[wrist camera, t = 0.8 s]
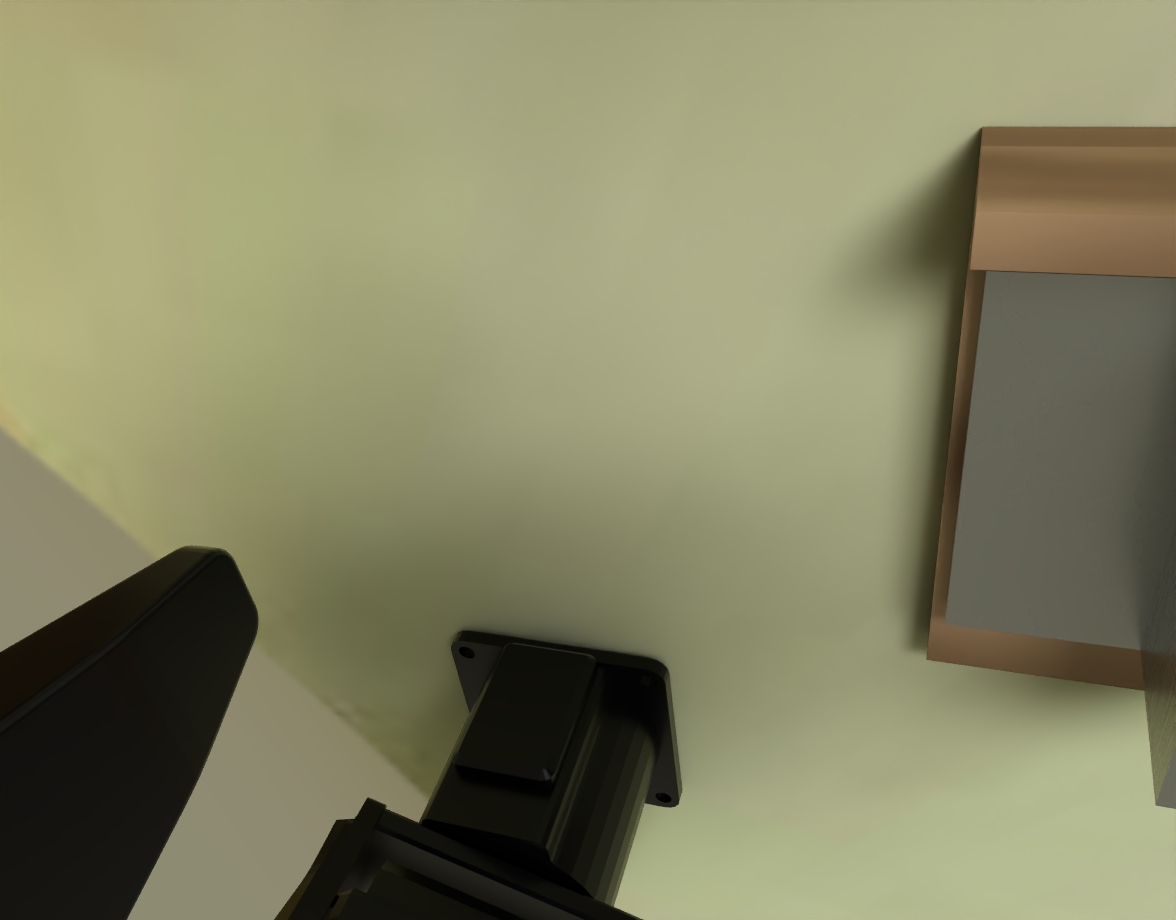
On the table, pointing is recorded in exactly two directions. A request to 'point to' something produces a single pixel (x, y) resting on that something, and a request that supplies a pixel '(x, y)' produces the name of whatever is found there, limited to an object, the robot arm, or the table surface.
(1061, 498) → the bookend
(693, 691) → the table surface
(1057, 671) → the shelf
